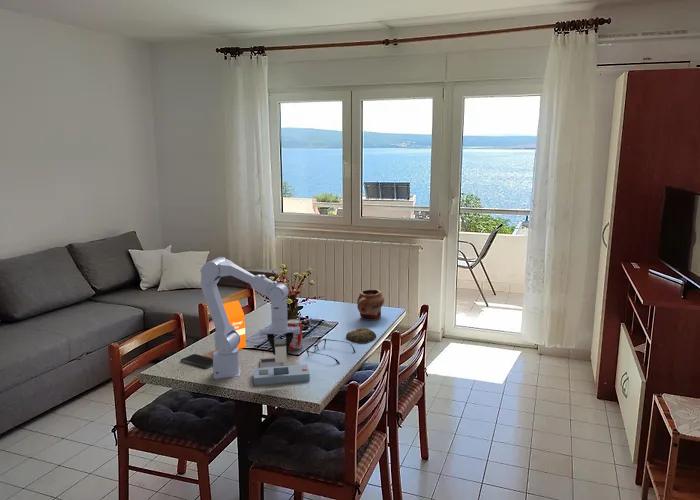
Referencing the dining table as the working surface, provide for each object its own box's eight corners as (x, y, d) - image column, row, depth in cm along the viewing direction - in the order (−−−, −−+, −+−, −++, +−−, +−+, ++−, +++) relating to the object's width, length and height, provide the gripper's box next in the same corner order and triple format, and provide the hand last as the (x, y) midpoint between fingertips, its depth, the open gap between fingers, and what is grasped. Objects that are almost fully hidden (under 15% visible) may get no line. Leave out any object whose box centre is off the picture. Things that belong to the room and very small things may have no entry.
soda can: (306, 348, 228) (305, 321, 225) (293, 352, 222) (292, 325, 220) (295, 344, 232) (294, 317, 230) (282, 348, 227) (281, 321, 225)
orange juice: (218, 348, 228) (215, 302, 224) (235, 342, 235) (233, 298, 231) (228, 352, 223) (226, 306, 219) (246, 346, 229) (244, 301, 226)
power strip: (253, 386, 191) (253, 377, 190) (253, 375, 200) (253, 367, 199) (309, 381, 194) (309, 372, 194) (307, 371, 203) (307, 363, 203)
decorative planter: (370, 326, 255) (370, 298, 252) (348, 322, 261) (348, 294, 258) (389, 315, 272) (389, 288, 269) (368, 311, 278) (368, 285, 275)
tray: (260, 372, 202) (260, 369, 202) (259, 362, 212) (259, 358, 212) (284, 370, 204) (284, 367, 204) (283, 360, 214) (283, 357, 214)
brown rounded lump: (360, 345, 231) (360, 334, 230) (342, 338, 240) (342, 327, 239) (381, 338, 239) (382, 327, 238) (363, 331, 248) (363, 321, 248)
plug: (275, 362, 193) (274, 344, 192) (274, 357, 198) (274, 339, 197) (286, 362, 194) (286, 343, 193) (285, 356, 199) (285, 338, 198)
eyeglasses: (325, 345, 231) (325, 337, 230) (357, 352, 224) (357, 343, 223) (304, 358, 217) (304, 349, 216) (338, 366, 209) (338, 356, 209)
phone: (205, 367, 206) (179, 359, 214) (206, 370, 206) (179, 362, 214) (220, 360, 212) (194, 353, 220) (221, 363, 213) (194, 356, 220)
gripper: (259, 322, 188) (260, 358, 190) (300, 319, 190) (301, 355, 193) (258, 316, 195) (260, 351, 197) (298, 313, 197) (299, 348, 200)
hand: (280, 353), depth 195 cm, fingers closed on plug, 4 cm apart
